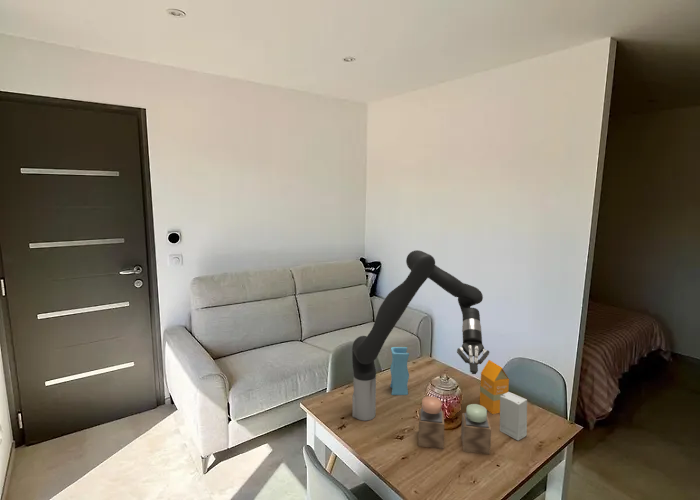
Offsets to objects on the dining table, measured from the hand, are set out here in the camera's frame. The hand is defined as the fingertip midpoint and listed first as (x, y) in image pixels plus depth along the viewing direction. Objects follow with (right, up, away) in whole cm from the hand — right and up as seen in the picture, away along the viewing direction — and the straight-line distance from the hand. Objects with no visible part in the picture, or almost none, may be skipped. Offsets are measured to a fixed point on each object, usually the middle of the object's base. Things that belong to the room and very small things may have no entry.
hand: (474, 373), depth 148 cm
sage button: (-2, -13, -9) cm, 16 cm away
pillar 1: (-18, -24, -4) cm, 30 cm away
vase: (-25, -19, +32) cm, 45 cm away
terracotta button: (-18, -11, -6) cm, 22 cm away
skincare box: (+15, -23, -1) cm, 27 cm away
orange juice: (+14, -21, +18) cm, 31 cm away
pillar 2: (-2, -24, -7) cm, 25 cm away
